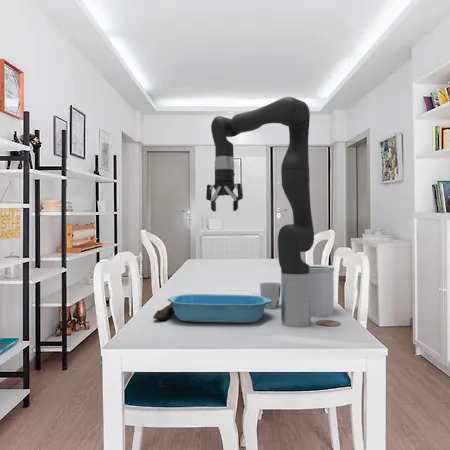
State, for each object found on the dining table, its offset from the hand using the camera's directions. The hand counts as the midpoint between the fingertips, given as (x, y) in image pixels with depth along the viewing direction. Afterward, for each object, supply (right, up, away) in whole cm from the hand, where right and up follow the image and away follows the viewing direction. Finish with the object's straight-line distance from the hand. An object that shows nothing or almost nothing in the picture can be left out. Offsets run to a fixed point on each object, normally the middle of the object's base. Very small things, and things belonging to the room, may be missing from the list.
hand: (224, 211), depth 162 cm
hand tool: (-25, -37, -3) cm, 45 cm away
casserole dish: (-2, -39, -13) cm, 41 cm away
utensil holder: (+33, -38, -6) cm, 51 cm away
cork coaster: (+34, -38, -24) cm, 56 cm away
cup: (+18, -39, +2) cm, 42 cm away
